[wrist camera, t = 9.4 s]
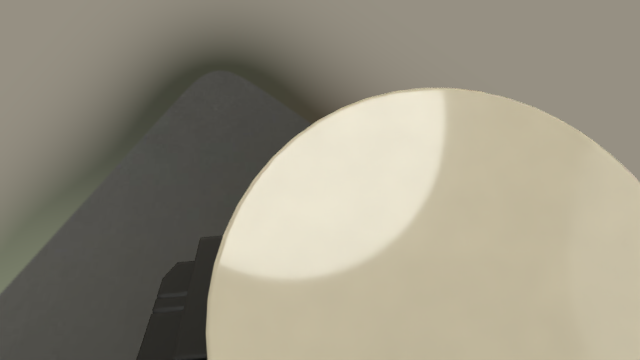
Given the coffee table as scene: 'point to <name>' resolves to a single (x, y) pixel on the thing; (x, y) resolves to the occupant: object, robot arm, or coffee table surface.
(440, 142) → the banded jar
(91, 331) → the coffee table surface
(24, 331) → the coffee table surface
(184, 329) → the robot arm
